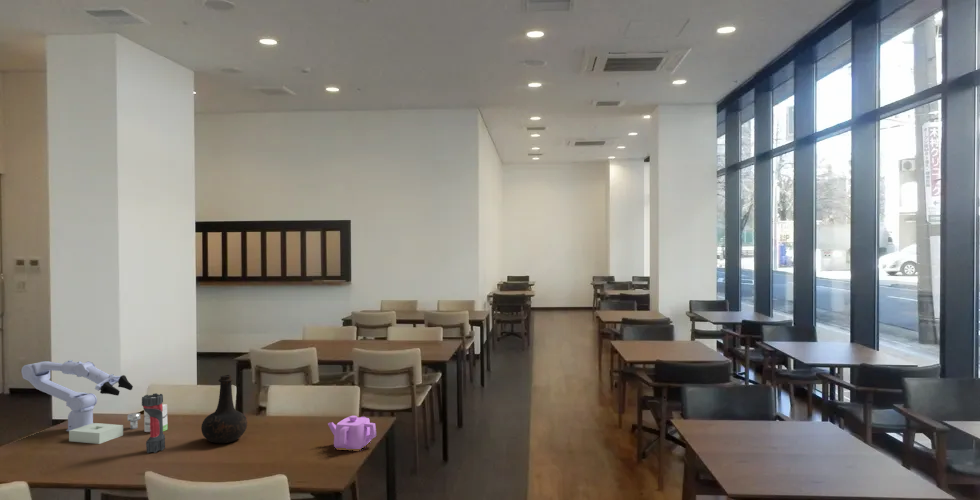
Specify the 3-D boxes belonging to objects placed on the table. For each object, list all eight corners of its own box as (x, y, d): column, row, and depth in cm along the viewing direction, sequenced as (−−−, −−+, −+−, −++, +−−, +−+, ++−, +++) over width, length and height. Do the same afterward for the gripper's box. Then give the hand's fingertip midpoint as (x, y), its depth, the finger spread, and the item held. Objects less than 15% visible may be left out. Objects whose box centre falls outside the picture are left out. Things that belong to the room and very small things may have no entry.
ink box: (168, 429, 272) (168, 403, 272) (160, 432, 268) (160, 406, 268) (151, 428, 274) (151, 403, 274) (143, 431, 269) (143, 405, 269)
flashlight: (139, 455, 238) (139, 398, 238) (145, 449, 245) (145, 393, 245) (161, 453, 240) (161, 396, 240) (166, 447, 247) (166, 392, 247)
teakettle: (340, 455, 237) (340, 424, 237) (326, 444, 251) (326, 414, 251) (380, 447, 247) (380, 417, 247) (364, 437, 261) (364, 408, 261)
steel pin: (125, 429, 273) (124, 415, 273) (133, 426, 278) (133, 412, 278) (134, 430, 272) (134, 415, 272) (142, 427, 277) (142, 413, 277)
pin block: (69, 441, 256) (69, 430, 256) (93, 432, 268) (93, 422, 268) (99, 443, 253) (99, 433, 253) (123, 435, 264) (123, 425, 264)
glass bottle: (192, 443, 253) (192, 377, 253) (228, 432, 269) (228, 369, 269) (220, 449, 244) (220, 381, 245) (256, 437, 260) (256, 373, 260)
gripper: (89, 374, 264) (115, 388, 262) (115, 365, 278) (139, 378, 277) (85, 388, 265) (110, 402, 264) (111, 378, 279) (135, 391, 278)
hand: (125, 390), depth 270 cm, fingers open, 7 cm apart
